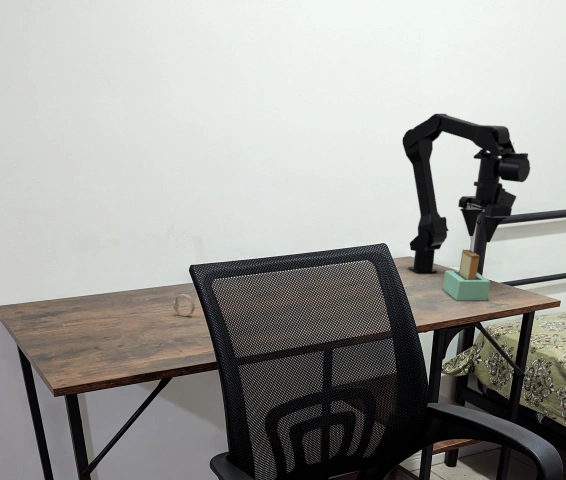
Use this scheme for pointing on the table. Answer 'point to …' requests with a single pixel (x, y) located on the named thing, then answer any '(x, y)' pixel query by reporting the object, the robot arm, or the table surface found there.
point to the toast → (469, 264)
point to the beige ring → (176, 305)
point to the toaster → (466, 286)
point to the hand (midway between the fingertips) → (479, 239)
